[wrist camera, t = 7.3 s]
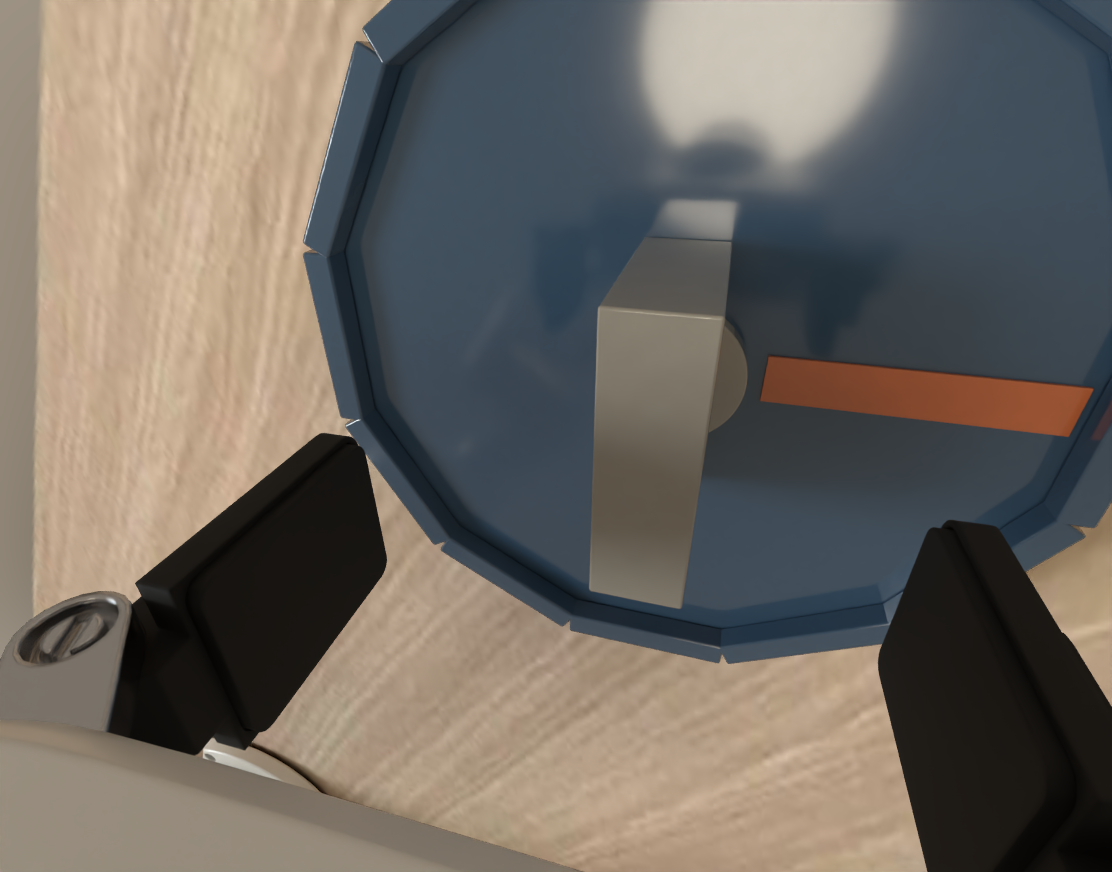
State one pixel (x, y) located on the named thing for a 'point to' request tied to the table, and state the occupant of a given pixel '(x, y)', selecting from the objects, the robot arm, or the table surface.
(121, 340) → the table surface
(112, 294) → the table surface
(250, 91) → the table surface
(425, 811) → the table surface
